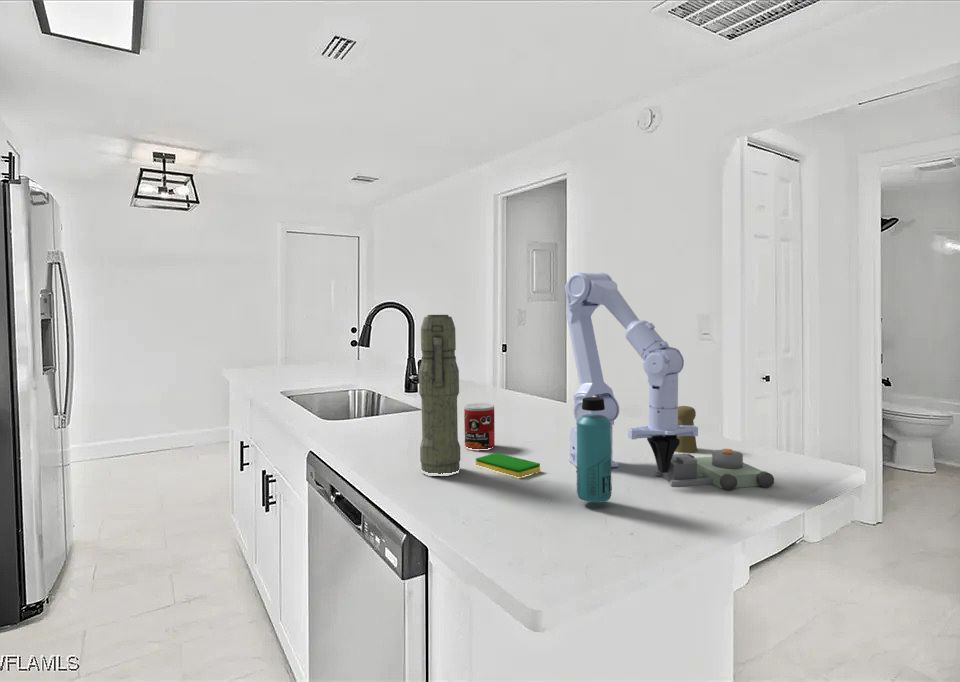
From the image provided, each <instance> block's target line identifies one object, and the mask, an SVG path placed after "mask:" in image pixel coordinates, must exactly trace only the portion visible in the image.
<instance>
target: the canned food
mask: <svg viewBox="0 0 960 682" xmlns="http://www.w3.org/2000/svg"><path fill="white" fill-rule="evenodd" d="M463 411H464V412H463V414H464V415H463V417H464V419H463V420H464V424H463V425H464V446H466V447H468V448H472V449H488V448H492V447H494V448H495V443H496V442H495V438H496V437H495V433H496V432H495V405H494V404H492V403H486V402H485V403H483V402H477V403H469V404H466V405H464V408H463ZM466 447H465V448H466ZM492 449H493V448H492Z"/></svg>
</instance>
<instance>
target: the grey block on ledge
mask: <svg viewBox="0 0 960 682" xmlns="http://www.w3.org/2000/svg"><path fill="white" fill-rule="evenodd" d="M686 454H687V453H676V454H673V456H672V459H671V462H670V465H669V469H668V472H667V473H663V476H662V478H664V479H666V480H667V481H669V482H670V480H686V479H698V475H697V460H696V459H694V458H692V457H690V456H688V455H686Z"/></svg>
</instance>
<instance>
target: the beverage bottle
mask: <svg viewBox="0 0 960 682" xmlns="http://www.w3.org/2000/svg"><path fill="white" fill-rule="evenodd" d="M582 409H583V410H587V411H601V410H605V406H604V399H603V398H600V397H595V396H592V397H586V398H583V401H582ZM610 425H611V422H610V421H609V420H608V419H607V418H606V417H605V416H603V415H597V414H587V415H583V416H581V417H580V418H579V419H578V420H577V421H576V427H577V454H576V455H577V467H576V476H575V477H576V483H575V484H576V494H577V497H578V498H579V499H580V500H581V501H584V502H590V503H603V502H608V501H610V499H611V497H612V489H613V485H612V467H611V452H612V453H613V450H612V451H611V448H612V449H613V446H612V447H611V443H612V444H613V441H612V442H611V434H610Z"/></svg>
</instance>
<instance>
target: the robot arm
mask: <svg viewBox="0 0 960 682" xmlns="http://www.w3.org/2000/svg"><path fill="white" fill-rule="evenodd" d="M564 291H565V296H566V308H565V309H566V310H565V314H566V321H567V325H568V330H569V336H570V340H571V346H572V350H573V351H572V352H573V356H574V361H575V366H576V372H577V376H578V381H579V388H577V390H576V391H575V393H574V394H573V400H574V405H573V415H574V419H575V421H576V422H577V420H578V419H579V418H580V417H581V416H583V415H587V414H597V415H603V416H605V417H606V418H607V419H608V420H609V421H610V422H611V425H610V434H611V442H612V443H611V447H612V448H611V451H612V452H611V468H619V467H620V465H619V463H617V462H616V461H614V460H613V427H614V426H615V420H617V418H618V417H619V414H620V406H619V405H620V404H619V402H618V400H617V399H616V398H615V395H614V393H613V389H612V387H610V386H609V385H608V384H607V383H606V382H605V381H604V375H603V370H602V366H601V361H600V356H599V350H598V346H597V340H596V335H595V331H594V325H593V320H592V315H593V314H594V313H595V311H596V309H598V308H599V307H600V306H601V305H603V306H604V307H605V308H606V309H607V310H608V312H609V313H610V314H612V316H613V317H614V318H615V319H616V320H617V322H619V323H620V325H621V326H622V327H623V328H624V329H625V339H626V341H628V343H629V344H630V345H631V346H632V348H633V349H634V350H635V352H637V354H638V356H639V357H641V359H642V360H643V362H642V367H643V369H644V372H645V374H646V376H647V383H648V425H645V426H639V427H630V428H629V427H628V428H627V438H628V439H630V440H637V439H646V441H647V442H648V444H649V445H650V447H651V451H652V453H653V454H654V455H653V456H654V459H655V463H656V466H657V471H660V472H662V473H667V472H668V469H669V465H670V462H671V459H672V456H673V454H674V453H675V452H676V451H675V450H676V449H677V447H678V445H679V443H680V439H678V438H677V436H695V437H698V436H699V427H698V426H696V425H695V424H694V425H678V407H679V373H681V372H682V370H683V369H684V366H685V365H684V364H685V363H684V362H685V360H684V357H683V355H682V353H681V351H680V350H679V349H678V348H676V347H672V346H669V343H668V341H666V340H664V338H662V337H661V336H660V334H659V333H658V332H657V330H656V329H655V328H656V326H655V324H654V323H652V322H649V321H647V320H640V319H639V317H638V316H637V315H636V313H635V312H634V310H633V309H632V307H631V306H630V305H629V303H628V302H627V300H625V298H624V296H623V295H622V294H621V292H620V291H619V289H618V284H617V282H616V281H614V280H613V279H612V277H611V276H610V274H608V273H606V272H600V273H599V272H598V273H596V272H595V273H594V272H581V271H576V272H574V273H572V274H571V276H569V278H568V280H567V282H566V284H565V285H564ZM586 397H600V398H603V399H604V406H605V410H601V411H587V410H583V409H582V401H583V398H586ZM569 431H570V432H569V458H568V462H571V463H572V464H573V466H575V468H577V455H576V454H577V426H574V427H571V428H570V430H569Z"/></svg>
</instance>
